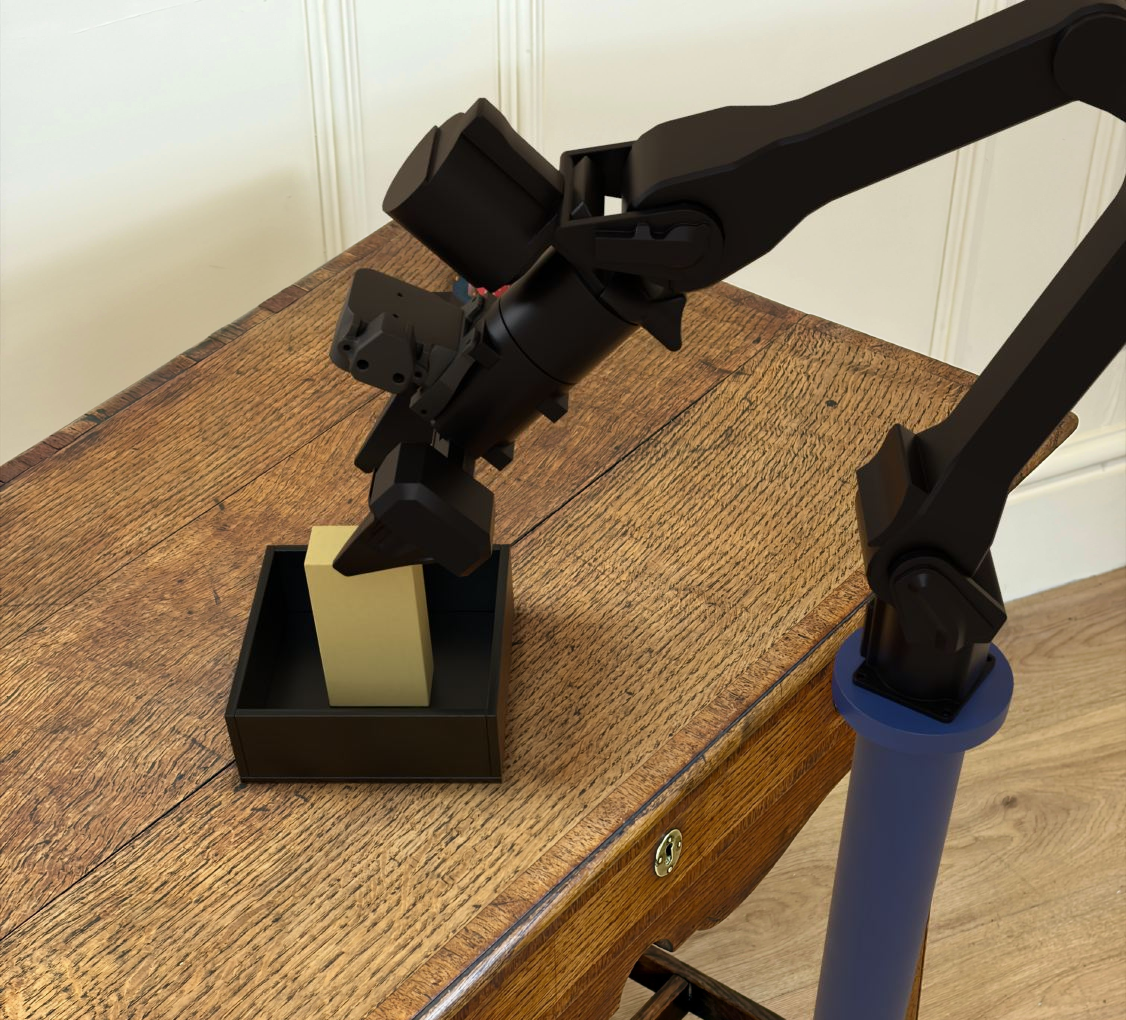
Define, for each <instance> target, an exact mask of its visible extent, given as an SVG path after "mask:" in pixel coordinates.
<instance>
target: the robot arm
mask: <svg viewBox="0 0 1126 1020" xmlns="http://www.w3.org/2000/svg"><path fill="white" fill-rule="evenodd" d="M1074 102H1080V103H1083V104H1086V105H1089V106H1091V107H1092V108H1096V109H1099V110H1101V111H1104V112H1106V113H1108V114H1110V115H1112V116H1113V117H1115V118H1116V119H1118V120H1120V121H1121V122H1123V123H1125V124H1126V0H1022V1H1019V2H1017V3H1015V4H1012V5H1010V6H1008V7H1006V8H1003V9H1001V10H998V11H995V12H994V13H992V14H990V15H987V16H984V17H983V18H981V19H977V20H975V21H973V22H972V23H971V22H970V23H969V24H967V25H964V26H962V27H960V28H957V29H955V30H953V31H950V32H948V33H946V34H943V35H942V36H941V35H940V36H939V37H937V38H935V39H932V40H930V41H927V42H925V43H924V44H923V43H922V44H921V45H919V46H916V47H914V48H912V49H910V50H907V51H905V52H903V53H900V54H897V55H896V56H894V57H891V58H889V59H886V60H884V61H882V62H880V63H877V64H875V65H873V66H871V67H869V68H866V69H864V70H862V71H859V72H857V73H855V74H853V75H850V76H848V77H845V78H843V79H841V80H838V81H836V82H834V83H832V84H829V85H827V86H825V87H823V88H820V89H817V90H815V91H813V92H811V93H809V94H807V95H804V96H802V97H799V98H796V99H792V100H788V101H784V102H780V103H777V104H767V105H762V104H761V105H760V104H759V105H757V104H755V105H724V106H721V107H717V108H714V109H713V108H712V109H709V110H705V111H702V112H698V113H694V114H690V115H685V116H681V117H678V118H673V119H671V120H667V121H664V122H661V123H658V124H656V125H654V126H653V127H651V128H650V129H649V130H647V131H645V132H644V133H642V134H641V135H640V136H638V138H637V139H635V140H628V141H623V142H615V143H609V144H608V143H607V144H602V145H596V146H590V147H582V148H576V149H569V150H564V151H563V152H562V153H561V154H560V156H559V164H558V165H559V166H558V169H557V168H556V167H555V165H553V164H552V163H551V162H549V161H548V159H547V158H545V157H544V156H543V155H542V154H541V152H539V151H538V150H536V148H534V147H533V146H532V145H531V144H530V143H529V142H528V141H527V140H526V139H525V138H524V137H523V136H521V135H520V134H519V133H518V132H517V131H516V130H515V129H514V127H512V125H511V123H510V122H509V121H508V119H507V118H506V116H505V115H504V114H503V113H502V111H500V110H499V109H498V107H496V106H495V105H494V104H493V103H491V102H490V101H489V100H488V98H486V97H478V98H477V99H476V100H475V101H474V102H473V103H472V105H471V106H470V107H469V108H468V109H467V110H466V111H465V112H463V111H462V112H458V113H455V114H453V115H451V116H450V117H449V118H448V119H446V120H445V121H444V122H443V123H442V124H441V125H440V126H438V125H436V124H434V125H433V126H432V127H431V128H430V129H429V130H428V132H427V133H426V134H425V135H424V136H423V137H422V138H421V139H420V141H419V142H418V143H417V144H416V146H415V147H414V148H413V149H412V151H411V152H410V153H409V155H408V156H407V157H406V159H405V160H404V162H403V163H402V165H401V166H400V167H399V169H398V171H397V173H396V174H395V176H394V177H393V179H392V180H391V183H390V185H389V186H388V188H387V190H386V192H385V195H384V197H383V199H382V204H381V209H382V212H383V213H384V214H386V215H387V216H388V217H389V218H391V219H392V220H393V221H394V222H395V223H397V224H398V225H400V227H401V228H402V229H404V230H405V231H406V232H407V233H409V234H410V235H411V236H412V237H413V238H415V239H416V240H417V241H418V242H419V243H421V244H422V245H423V246H424V247H425V248H426V249H428V250H429V251H430V252H431V253H432V254H433V255H435V256H436V257H437V258H438V259H439V258H440V259H441V260H442V261H443V262H444V263H443V262H442V261H441V260H440V259H439V260H440V261H441V262H442V263H443V264H445V263H446V264H445V265H447V266H448V267H449V268H450V269H452V270H453V272H455V273H456V274H459V275H460V276H461V277H462V278H464V279H465V280H466V281H467V282H468V283H470V284H471V285H472V286H473V287H474V288H482V287H483V288H484V289H486V290H487V292H486V293H485V294H484V295H483V296H482V295H481V294H480V293H478V294H476V295H475V296H474V297H473V298H472V299H471V300H470V301H469V302H468V303H467V304H465V303H464V302H463V301H462V300H460V299H459V298H458V297H457V296H456V295H454V294H453V291H429V290H427V289H425V288H422V287H419V286H417V285H414V284H412V283H410V282H407V281H405V280H401V279H399V278H397V277H394V276H392V275H389V274H386V273H385V272H382V271H378V270H376V269H373V268H367V267H362V268H358V269H356V270H355V272H354V275H353V278H352V280H351V282H350V285H349V289H348V291H347V293H346V296H345V299H344V303H343V305H342V307H341V311H340V313H339V315H338V318H337V321H336V324H335V328H334V333H333V338H332V341H331V345H330V348H329V352H328V358H329V360H330V361H331V362H332V364H333V365H334V366H335V367H336V368H338V369H340V370H342V371H344V372H346V373H349V374H350V375H351V376H352V378H353V379H354V380H355V381H357V382H359V383H362V384H364V385H367V386H371V387H373V388H375V389H378V390H380V391H383V392H386V393H388V394H390V396H389V398H388V399H387V401H386V403H385V404H384V407H382V410H381V411H380V413H379V415H378V417H377V419H376V420H375V422H374V424H373V426H372V427H371V429H370V431H369V433H368V434H367V436H366V438H365V440H364V441H363V443H362V444H361V446H360V448H359V450H358V451H357V452H356V453H357V454H356V455H355V457H354V459H353V465H354V466H355V467H356V468H357V469H359V470H360V471H361V472H363V473H365V474H371V473H372V474H371V479H370V485H369V490H368V495H367V505H368V506H367V507H368V508H369V512H368V513H367V515H365V517H364V518H363V520H362V521H361V522H360V523H359V525H357V526H358V527H357V529H356V530H355V531H354V533H353V534H352V535H351V537H350V538H349V539H348V541H347V542H346V543H345V544H344V546H343V547H342V549H341V550H340V552H339V553H338V554H337V556H336V557H335V559H334V560H333V564H332V567H333V568H334V569H335V570H336V571H338V572H339V573H341V574H342V575H344V576H346V577H351V576H356V575H361V574H367V573H372V572H377V571H382V570H388V569H393V568H398V567H404V566H410V565H419V564H431V563H439V564H441V565H442V566H443V567H445V568H446V569H448V570H449V571H450V572H452V573H453V574H455V575H456V576H457V577H462V576H468V575H469V574H470V573H471V572H473V571H474V570H475V569H476V568H477V567H479V566H480V565H481V564H482V563H483V562H484V561H486V560H487V559H488V558H489V557H490V556H492V546H493V544H494V537H495V536H494V534H495V525H496V516H497V513H496V500H495V499H496V498H495V492H494V491H492V490H491V489H489V488H488V487H487V486H485V485H484V484H483V483H482V482H480V481H479V480H478V479H476V478H475V473H476V466H477V465H476V464H477V461H478V460H479V459H480V458H481V459H483V460H484V461H486V462H487V463H488V464H489V465H491V466H492V467H494V468H495V469H496V470H497V471H498V472H502V471H504V469H505V468H506V467H507V466H508V465H510V464H511V463H512V462H513V461H514V455H515V445H516V444H515V443H516V439H518V438H519V437H520V436H521V435H522V434H523V433H524V432H525V431H527V429H529V428H530V427H531V426H532V425H533V424H534V423H535V422H536V421H538V420H539V419H540V418H541V417H542V416H544V417H545V418H547V419H548V420H549V421H550V422H551V423H552V424H556V423H557V422H558V421H559V420H561V419H562V418H563V417H564V416H565V415H566V414H567V413H568V412H569V401H570V400H569V398H570V391H572V390H573V389H574V387H576V386H577V385H578V384H579V383H580V382H581V381H582V380H583V379H584V378H586V377H587V376H588V375H589V374H590V373H591V372H592V371H594V370H595V369H596V368H597V367H598V366H599V365H600V364H601V363H602V362H604V361H605V360H606V359H607V358H608V357H610V355H611V354H612V353H614V352H615V351H616V350H617V349H618V348H619V347H620V346H622V344H623V343H625V342H626V341H627V340H628V339H629V338H631V336H633V335H634V334H635V333H636V332H637V331H638V330H639V329H640V328H643V329H644V330H645V331H646V332H647V333H648V334H649V335H651V337H653V338H654V339H655V340H656V341H658V343H660V344H661V345H662V346H663V347H665V349H667V350H668V351H669V352H672V353H676V352H679V351H680V350H681V349H682V348H683V329H682V328H683V327H682V323H683V322H682V321H683V315H684V311H685V307H686V304H687V301H688V294H691V293H695V292H700V291H704V290H707V289H709V288H711V287H713V286H715V285H717V284H719V283H721V282H722V281H724V280H726V279H728V278H729V277H730V276H733V275H734V274H736V273H737V272H739V271H741V270H742V269H745V268H746V267H748V266H749V265H751V264H752V263H754V262H756V261H758V260H759V259H760V258H763V257H764V256H765V255H767V254H769V253H770V252H771V251H772V250H774V249H775V248H776V247H777V246H778V245H779V244H780V243H781V242H782V241H783V240H784V239H785V238H786V237H788V235H789V234H790V233H791V232H792V231H793V230H794V229H795V228H797V227H798V225H800V224H801V223H802V222H803V221H804V220H805V219H806V218H807V217H809V216H810V215H812V214H813V213H816V212H817V211H818V210H820V209H822V208H823V207H825V206H826V205H828V204H830V203H832V202H833V201H836V200H838V199H841V198H842V197H845V196H849V195H851V194H853V193H855V192H858V191H860V190H864V189H865V188H868V187H871V186H872V185H875V184H877V183H879V182H880V183H881V182H882V181H884V180H887V179H890V178H893V177H894V176H897V175H899V174H902V173H904V172H906V171H909V170H911V169H914V168H917V167H918V166H921V165H924V164H926V163H929V162H931V161H934V160H935V159H938V158H940V157H943V156H944V155H948V154H950V153H953V152H955V151H958V150H960V149H962V148H964V147H967V146H970V145H972V144H975V143H977V142H979V141H982V140H985V139H986V138H989V137H991V136H994V135H996V134H999V133H1001V132H1003V131H1006V130H1008V129H1011V128H1013V127H1016V126H1018V125H1021V124H1023V123H1026V122H1028V121H1031V120H1034V119H1035V118H1037V117H1041V116H1042V115H1046V114H1048V113H1050V112H1052V111H1054V110H1057V109H1059V108H1062V107H1064V106H1067V105H1069V104H1072V103H1074ZM606 197H608V198H615V199H619V200H621V205H620V206H621V211H620V213H613V214H607V215H606V213H605V211H606V209H605V208H606ZM543 253H544V254H543ZM542 254H543V255H542ZM511 284H512V285H511ZM505 285H506V286H508V285H511V286H510V287H509V288H508V289H507V290H506V291H505V292H504V293H503V294H502V295H501V296H500V297H499V298H497V297H496V296H495V295H494V294H492V293H494V292H496V291H497V290H499V289H500V288H502V287H503V286H505ZM1125 346H1126V173H1125V175H1124V178H1123V181H1122V183H1121V185H1120V187H1119V189H1118V191H1117V192H1116V194H1115V196H1114V198H1112V200H1111V201H1110V202H1109V204H1108V206H1107V207H1106V208H1105V209H1104V211H1103V212H1102V214H1101V215H1100V216H1099V217H1098V219H1097V220H1096V221H1095V223H1094V224H1093V225H1092V227H1091V228H1090V229H1089V230H1088V232H1087V233H1086V234H1085V236H1084V237H1083V239H1082V240H1081V241H1080V242H1079V243H1078V245H1077V246H1076V248H1075V249H1074V250H1073V252H1072V253H1071V254H1070V256H1069V257H1068V258H1067V260H1066V261H1065V262H1064V263H1063V265H1061V267H1060V268H1059V270H1058V272H1057V273H1056V274H1055V275H1054V276H1053V278H1052V279H1051V281H1050V282H1049V283H1048V285H1047V286H1046V287H1045V288H1044V290H1043V291H1042V292H1041V294H1039V296H1038V297H1037V299H1036V300H1035V301H1034V303H1033V304H1032V306H1030V308H1029V310H1028V311H1027V312H1026V313H1025V315H1024V317H1022V318H1021V320H1020V321H1019V323H1018V324H1017V325H1016V327H1015V328H1013V331H1012V332H1011V333H1010V335H1009V336H1008V337H1007V339H1005V341H1004V343H1003V344H1002V345H1001V347H1000V348H999V349H998V350H997V352H996V353H995V354H994V356H993V357H992V358H991V360H989V362H988V363H987V365H985V367H984V369H983V370H982V371H981V373H980V374H979V375H978V377H977V378H976V379H975V381H974V382H973V383H972V384H971V386H970V387H969V389H968V390H967V391H966V393H965V394H964V395H963V396H962V398H961V399H960V400H959V402H958V403H957V404H956V406H955V407H954V409H953V410H952V411H951V412H950V414H948V416H946V417H945V419H943V420H942V421H941V422H939V423H936V424H934V425H932V426H930V427H927V428H926V429H923V430H920V431H919V432H917V433H915V432H913V431H912V430H910V429H909V428H908V427H906V426H904V425H903V424H901V423H899V422H897V423H894V424H893V425H892V426H891V427H890V429H889V430H888V432H887V433H886V435H885V437H884V439H883V441H882V444H881V445H880V447H879V448H878V451H877V452H876V453H875V454H874V455H873V457H871V459H870V460H869V461H868V462H867V463H865V464H863V465H862V466H860V467H859V468H857V469H856V470H855V476H856V483H857V490H856V492H855V496H854V510H855V511H854V512H855V517H856V524H857V530H858V535H859V536H858V537H859V542H860V548H861V556H862V561H863V567H864V568H863V569H864V574H865V579H866V581H867V584H868V585H867V586H868V587H869V589H870V590H871V591H872V592H873V594H874V595H873V596H872V597H871V598H870V599H869V600H868V602H867V603H866V605H865V611H864V616H863V617H864V618H863V624H862V627H863V631H862V637H861V644H860V651H859V652H860V655H861V657H864V658H866V659H865V660H864V661H863V662H862V664H861V665H860V666H859V667H858V668H857V669H856V671H855V672H854V673H853V676H852V683H853V684H854V685H856V686H858V687H860V688H862V689H865V690H867V691H869V692H872V693H874V694H876V695H879V696H881V697H883V698H886V699H888V700H890V701H893V702H895V703H897V704H899V705H902V706H904V707H906V708H909V709H911V710H913V711H916V712H918V713H920V714H923V715H925V716H927V717H930V718H932V719H934V720H937V721H939V722H941V723H951V722H952V721H954V719H955V718H956V717H957V715H958V714H959V713H960V711H961V710H962V709H963V707H964V706H965V705H966V703H967V702H968V701H969V699H970V698H971V697H972V695H973V694H974V693H975V692H976V690H977V689H978V688H979V686H980V685H981V684H982V682H983V681H984V680H985V678H986V677H987V676H988V674H989V673H990V672H991V670H992V669H993V668H994V666H995V662H996V658H995V657H994V656H993V655H991V654H989V653H988V652H989V647H990V643H991V642H993V640H994V639H995V637H996V636H997V634H998V633H999V632H1000V630H1001V629H1002V628H1003V626H1004V625H1005V623H1007V620H1008V614H1007V611H1006V607H1005V603H1004V599H1003V595H1002V590H1001V587H1000V582H999V578H998V575H997V570H996V567H995V563H994V559H993V555H992V552H991V551H992V550H991V547H992V545H993V544H994V541H995V539H996V535H997V532H998V529H999V525H1000V523H1001V519H1002V517H1003V514H1004V510H1005V507H1006V503H1007V501H1008V497H1009V495H1010V491H1011V488H1012V486H1013V484H1014V482H1015V480H1017V477H1018V476H1019V475H1020V474H1021V472H1022V471H1023V470H1025V467H1027V465H1028V464H1029V463H1030V461H1032V459H1033V458H1034V457H1035V455H1036V454H1037V453H1038V452H1039V451H1040V449H1041V448H1042V447H1043V446H1044V444H1045V443H1046V442H1047V441H1048V440H1049V438H1050V437H1051V436H1052V435H1053V434H1054V433H1055V431H1056V430H1057V429H1058V427H1059V426H1060V425H1061V424H1062V423H1063V421H1064V420H1065V419H1066V418H1067V417H1068V415H1069V414H1070V413H1071V412H1072V411H1073V409H1075V407H1076V405H1078V404H1079V402H1080V401H1081V400H1082V398H1083V397H1085V395H1086V394H1087V392H1088V391H1089V390H1090V388H1091V387H1092V386H1093V385H1094V384H1095V383H1096V382H1097V380H1098V379H1099V378H1100V377H1101V375H1102V374H1103V373H1104V372H1105V371H1106V370H1107V368H1108V367H1109V366H1110V365H1111V364H1112V362H1113V361H1114V360H1115V358H1116V357H1117V356H1118V355H1119V354H1120V352H1121V351H1122V350H1123V349H1124V347H1125ZM986 661H988V662H986ZM859 678H862V679H859ZM944 714H946V715H948V716H946V715H944Z"/></svg>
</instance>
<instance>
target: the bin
mask: <svg viewBox="0 0 1126 1020" xmlns="http://www.w3.org/2000/svg"><path fill="white" fill-rule="evenodd" d="M308 545H309V544H267V545H266V546H265V551H264V555H263V559H262V562H261V563H262V564H261V567H260V571H259V575H258V579H257V583H256V587H255V591H254V595H253V599H252V603H251V607H250V611H249V615H248V618H247V623H246V627H245V631H244V635H243V638H242V643H241V646H240V651H239V655H238V659H237V662H236V667H235V671H234V675H233V679H232V682H231V687H230V691H229V695H228V698H227V702H226V707H225V710H224V714H223V717H224V721H225V725H226V729H227V733H228V736H229V741H230V745H231V750H232V754H233V757H234V761H235V765H236V769H237V773H238V776H239V780H240V783H241V784H502V783H503V777H504V763H505V761H504V760H505V749H506V748H505V747H506V736H507V735H506V733H507V721H508V709H509V708H508V707H509V694H510V693H509V691H510V681H511V680H510V679H511V666H512V665H511V664H512V652H513V651H512V650H513V639H514V625H515V623H514V622H515V612H516V611H515V597H514V580H513V567H512V549H511V544H510V543H493V546H492V556H490V557H489V558H488V559H487V560H486V561H484V562H483V563H482V564H481V565H480V566H479V567H477V568H476V569H475V570H474V571H473V572H471V573H470V574H469V575H468V576H462V577H457V576H456V575H455V574H453V573H452V572H450V571H449V570H448V569H446V568H445V567H443V566H442V565H441V564H439V563H431V564H422V569H423V578H424V586H425V595H426V603H427V612H428V621H429V629H430V638H431V647H432V655H433V664H434V671H433V679H432V687H431V695H430V703H429V706H330V702H329V696H328V691H327V685H326V680H325V674H324V669H323V664H322V658H321V653H320V647H319V642H318V636H317V631H316V626H315V620H314V615H313V609H312V604H311V598H310V593H309V588H308V582H307V577H306V571H305V566H304V563H305V559H306V554H307V550H308Z"/></svg>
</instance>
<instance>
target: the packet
mask: <svg viewBox="0 0 1126 1020" xmlns="http://www.w3.org/2000/svg"><path fill="white" fill-rule="evenodd" d="M358 526H359V525H312V528H311V533H310V537H309V541H308V544H307V545H308V550H307V554H306V559H305V563H304V566H305V571H306V577H307V582H308V588H309V593H310V598H311V604H312V609H313V615H314V620H315V626H316V631H317V636H318V642H319V647H320V653H321V658H322V664H323V669H324V674H325V680H326V685H327V691H328V696H329V702H330V706H429V703H430V695H431V687H432V679H433V671H434V664H433V655H432V647H431V638H430V629H429V621H428V612H427V603H426V595H425V586H424V578H423V569H422V564H419V565H410V566H404V567H398V568H393V569H388V570H382V571H377V572H372V573H367V574H361V575H356V576H351V577H346V576H344V575H342V574H341V573H339V572H338V571H336V570H335V569H334V568H333V567H332V564H333V560H334V559H335V557H336V556H337V554H338V553H339V552H340V550H341V549H342V547H343V546H344V544H345V543H346V542H347V541H348V539H349V538H350V537H351V535H352V534H353V533H354V531H355V530H356V529H357V527H358Z"/></svg>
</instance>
